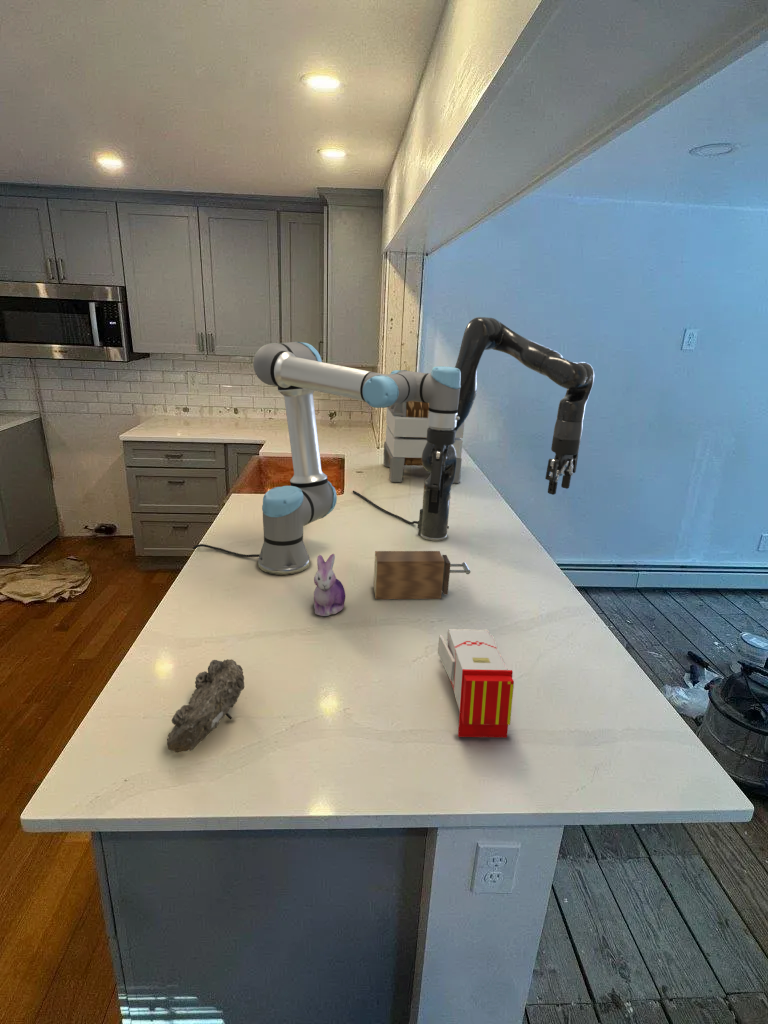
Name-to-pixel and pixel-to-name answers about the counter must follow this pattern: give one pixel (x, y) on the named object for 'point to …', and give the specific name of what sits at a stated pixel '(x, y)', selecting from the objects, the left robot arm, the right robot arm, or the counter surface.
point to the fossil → (206, 705)
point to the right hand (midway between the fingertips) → (558, 490)
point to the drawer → (448, 571)
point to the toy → (478, 682)
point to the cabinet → (408, 574)
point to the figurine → (327, 589)
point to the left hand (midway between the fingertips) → (435, 504)
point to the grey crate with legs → (411, 438)
